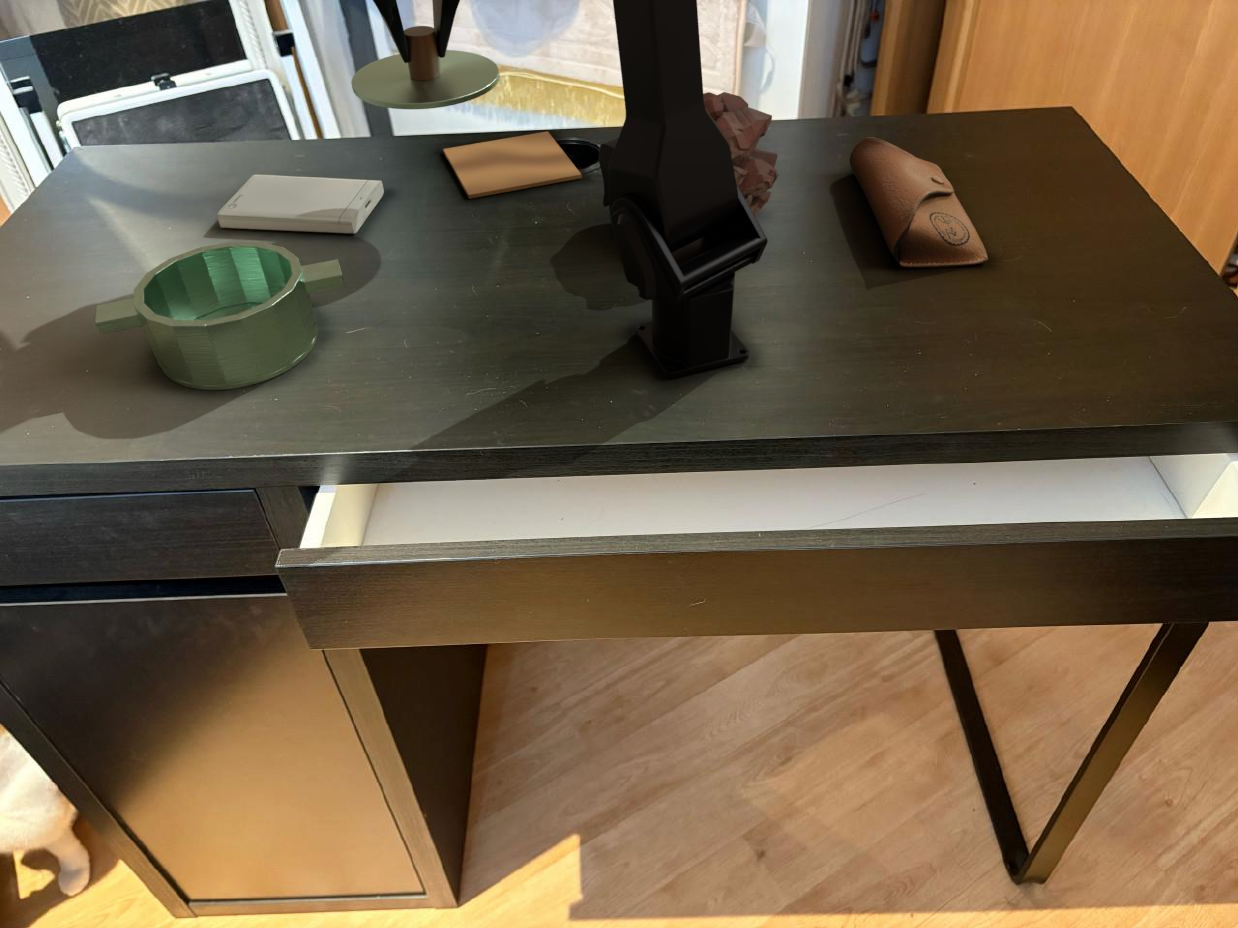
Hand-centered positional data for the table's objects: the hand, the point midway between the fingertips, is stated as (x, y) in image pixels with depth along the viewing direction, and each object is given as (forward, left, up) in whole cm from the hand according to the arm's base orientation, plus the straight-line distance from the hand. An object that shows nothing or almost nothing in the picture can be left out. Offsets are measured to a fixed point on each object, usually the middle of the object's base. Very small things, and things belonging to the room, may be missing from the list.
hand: (423, 58), depth 79 cm
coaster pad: (+6, -8, -13) cm, 16 cm away
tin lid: (0, 0, -2) cm, 2 cm away
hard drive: (+4, +12, -13) cm, 19 cm away
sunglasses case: (-18, -38, -13) cm, 44 cm away
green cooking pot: (-16, +19, -13) cm, 28 cm away
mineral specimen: (-13, -20, -13) cm, 27 cm away
